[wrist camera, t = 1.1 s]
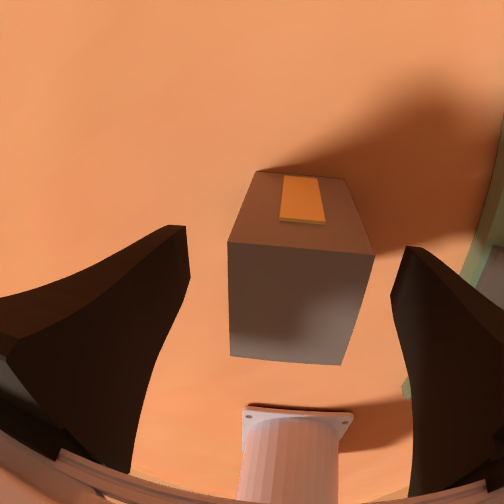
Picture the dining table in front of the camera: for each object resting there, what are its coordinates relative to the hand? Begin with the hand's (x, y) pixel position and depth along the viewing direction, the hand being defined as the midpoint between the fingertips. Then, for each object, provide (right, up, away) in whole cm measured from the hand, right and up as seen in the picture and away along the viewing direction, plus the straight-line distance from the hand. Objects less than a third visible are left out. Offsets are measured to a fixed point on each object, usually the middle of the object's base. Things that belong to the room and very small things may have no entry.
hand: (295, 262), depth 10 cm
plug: (0, +2, +3) cm, 3 cm away
